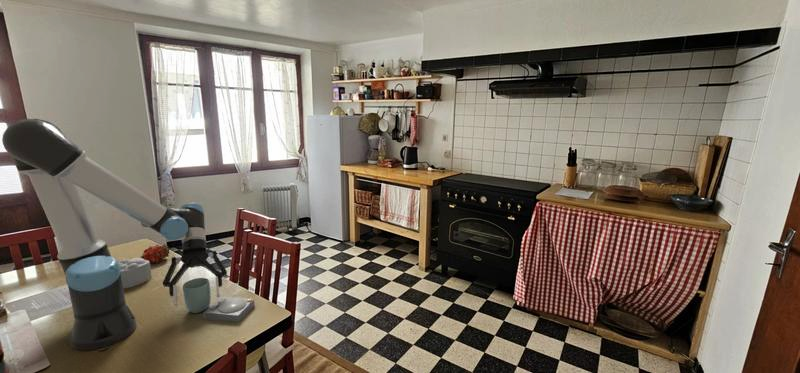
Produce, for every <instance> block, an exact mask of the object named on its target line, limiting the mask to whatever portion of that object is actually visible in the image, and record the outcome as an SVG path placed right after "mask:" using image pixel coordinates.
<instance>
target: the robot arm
mask: <svg viewBox="0 0 800 373" xmlns="http://www.w3.org/2000/svg"><path fill="white" fill-rule="evenodd" d="M2 144H3V148H4V149H5V150H6V152H7V153H8V154H9V155H10V156H11V159H12V161H13V163H14V165H15V167H16V169H17V171H18V172H19V173H21V174H25V175H27V176H28V178H29V180H30V181H31V185H32V187H33V189H34V191H35V194H36V195H37V198H38V200H39V202H40V204H41V207H42V209H43V211H44V214H45V216H46V218H47V220H48V222H49V225H50V226H51V229H52V231H53V234H54V236H55V238H56V240H57V242H58V245H59V247H60V251H59V253H58V254H57V256H56V258H57V259H58V262H59V264H60V266H61V268H62V270H63V273H64V275H65V282H66V284H67V288H68V292H69V297H70V298H69V299H70V303H71V307H72V312H73V316H74V317H73V318H74V321H73V325H72V332H71V334H70V336H69V341H70V346H71V348H72V349H73V350H77V351H92V350H99V349H101V348H104V347H108V346H111V345H113V344H115V343H118V342H120V341H122V340H124V339H125V338H127V337H129V335H131V334H132V333H133V332H134V331H135V329H136V327H137V320H136V319H137V318H136V317H135V315H134V314H133V312H132V310H130V308H129V306H128V305H127V303H126V298H125V292H124V291H125V290H124V289H123V285H122V279H121V267H120V265H119V263H118V262H119V260H117V258H115V257H113V256H112V254H111V252H110V249H109V247H108V245H107V242H106V241H105V240H102V239H100V238H98V236H97V234H96V232H95V229H94V227H93V224H92V221H91V219H90V217H89V213H88V212H87V209H86V207H85V204H84V202H83V200H82V199H83V198H82V196H81V193H80V192H79V189H78V188H80V189H83V191H85V192H87V193H89V194H91V195H93V196H94V197H96V198H98V199H100V200H101V201H103V202H105V203H107V204H108V205H109V206H112V207H114V208H115V209H118V210H119V211H121V212H122V213H124V214H125V215H128V216H130V217H131V218H133V219H134V220H137V221H139V222H140V225H141V226H142V227H144V228H149V229H152V230H154V231H155V232H157V233H159V234H160V235H161V236H162V237H163V238H165V239H168V240H171V241H176V240H180V239H181V243H182V244H181V250H182V251H181V252H182V253H181V254H182V255H181V256H180V257H176V256H172V257H171V264H170V266H169V268H168V270H167V272H166V275H165V277H164V278H163V281H162V286H163V287H164V288H166V287H167V288H168V290H169V292H168V293H169V296H170V297H173V306H174V307H178V286H177V283H178V282H179V281H180V279H181V278H182V276H183V275H184V274H185V273H186V271H187V270H188V269H189V268H191V269H192V268H197V267H198V268H199V267H201V266H203V267H204V268H206V269H207V270H208V271H209V272H211V273H212V274H213V275H214V278H215V287H216V290H215V291H216V297H217V298H221V297H220V288H221V287H223V277H225V276H227V275H228V273H227V272H228V271H227V270H226V268H225V266H224V264H223V263H222V262H221V260H220V259H219V258H220V257H219V256H218V255H217V250H213V251H211V252H208V250H207V241H206V240H207V238H206V228H205V227H206V225H205V212H204V208H203V205H201V204H200V203H198V202H186V203H184V204H183V205H181V207H180V208H179V207H167V206H164V205H163V204H161V203H159V202H158V201H157V200H154V199H153V198H152V197H151V196H148V195H147V194H145V193H144V192H142V191H141V190H139V189H138V188H136V187H135V186H133V185H132V184H130V183H128V182H127V181H125V180H124V179H122V178H120V177H119V176H118V175H116V174H114V173H113V172H111V171H110V170H108V169H107V168H105V167H103V166H102V165H100V164H98V163H97V162H95V161H94V160H92V158H89V157H88V156H87V155H86V154H87V153H86V150H84V149H83V148H81V147H79V145H76V144H75V143H74V141H71V140H70V139H69V138H68V137H67V136H66V135H65V133H63V132H62V131H61V129H60V128H59V127H58V126H57V125H55V124H54V123H52V122H50V121H48V120H44V119H41V118H25V119H24V118H23V119H19V120H16V121H14V122H13V123H11V124H9V125H8V127H7V128H6V129H5V130H4V132H3V133H2ZM209 257H210V259H213V261H214V263H215V264H216V266H217V267H218V269H219V270H220V271H219V270H217V268H215V267H214V266H213V265H212V264H211V263H210V262H209V261H208V258H209ZM180 262H182V263H183V264H182V265H181V267H180V269H179V270H178V271H177V272H176V274H175V275H174V273H175V271H176V268H177V266H178V265H179V264H180ZM173 275H174V277H173ZM172 277H173V278H172Z"/></svg>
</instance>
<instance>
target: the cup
mask: <svg viewBox="0 0 800 373" xmlns="http://www.w3.org/2000/svg"><path fill="white" fill-rule="evenodd" d="M211 292H212V291H211V283H210V280H209V279H208V278H206V277H197V278H193V279H191V280H188V281H186V282H184V283H183V285H182V293H183V299H184V300H183V301H184V305H185V307H186V310H187V311H189V312H190V313H193V314H198V313H202V312H205V311H206V310H207V309H208V308H209V307H210V306H211V305H210V304H211V301H212V300H211V299H212V295H211Z"/></svg>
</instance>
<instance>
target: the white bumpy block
mask: <svg viewBox="0 0 800 373" xmlns="http://www.w3.org/2000/svg"><path fill="white" fill-rule="evenodd" d="M118 263H119V265H120V267H121V279H122V285H123V290H124V289H129V288H132V287H133V288H134V287H136V286H138V285H140V284H143V283H146V282H148V281H150V280H151V279H152V278H153V277H152V276H153V275H152V268H151V263H150V262H149V261H148V260H144V259H143V258H141V257H132V258H131V259H127V258H123V259H120V260H118Z"/></svg>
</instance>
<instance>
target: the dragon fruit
mask: <svg viewBox="0 0 800 373" xmlns="http://www.w3.org/2000/svg"><path fill="white" fill-rule="evenodd" d="M169 248H170V247H169V246H167V245H165V244H162V245H161V244H155V245H152V246H149V247H148V248H146V249H144V250H143V253H142V254H141V257H140V258H143V259H144V260H148V261H149V262H150V264H153V263H156V264H159V263H160V262H162V261H164V259H166V258H169V256H170V250H171V249H169Z"/></svg>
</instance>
